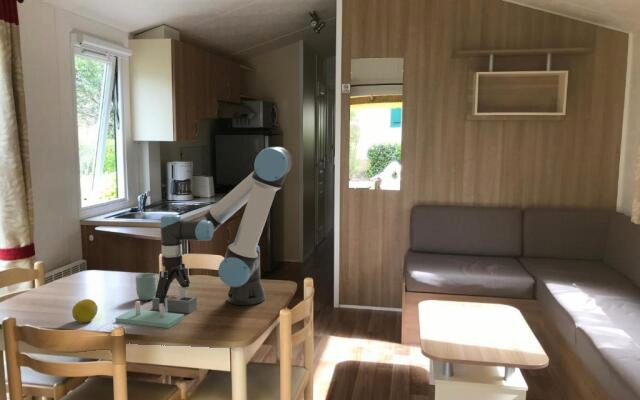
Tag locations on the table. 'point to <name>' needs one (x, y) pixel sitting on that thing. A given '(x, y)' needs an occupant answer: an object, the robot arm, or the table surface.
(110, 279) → the table surface
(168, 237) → the robot arm
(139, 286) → the cup
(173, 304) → the grey rectangular block
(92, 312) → the lemon
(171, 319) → the pegboard
